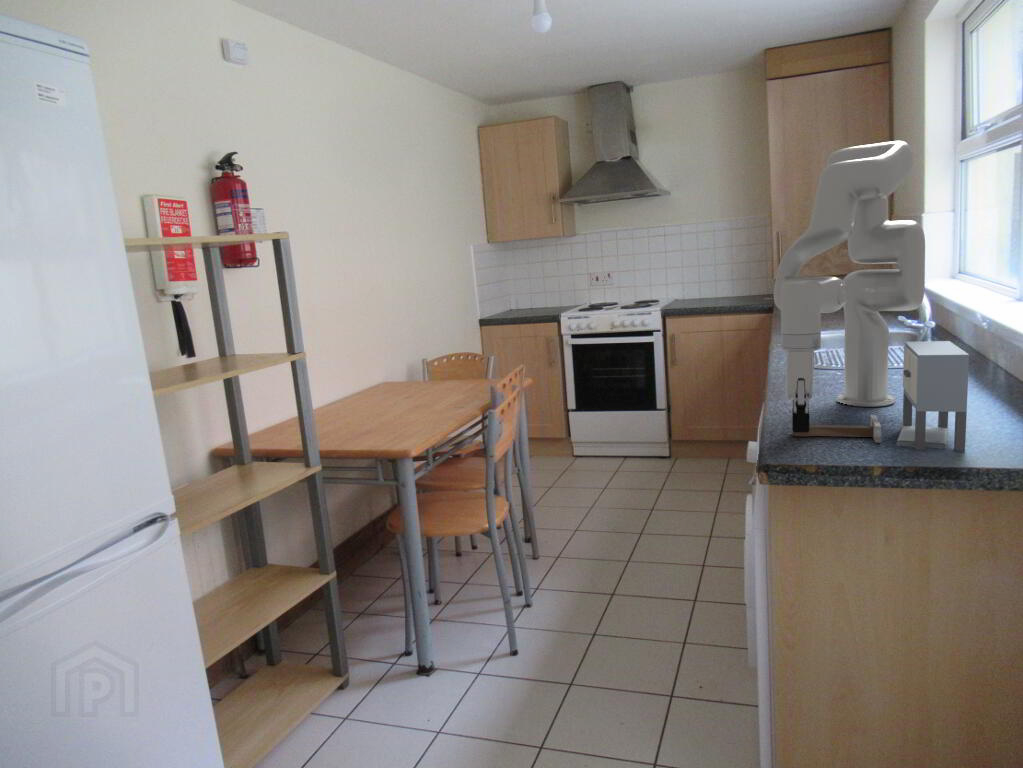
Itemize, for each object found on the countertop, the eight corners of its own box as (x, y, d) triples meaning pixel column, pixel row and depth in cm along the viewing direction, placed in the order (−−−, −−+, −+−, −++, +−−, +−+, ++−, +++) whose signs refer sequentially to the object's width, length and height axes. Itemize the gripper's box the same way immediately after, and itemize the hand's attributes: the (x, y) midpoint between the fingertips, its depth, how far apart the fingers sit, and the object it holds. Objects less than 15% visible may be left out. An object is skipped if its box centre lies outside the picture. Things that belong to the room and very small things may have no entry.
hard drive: (946, 443, 139) (948, 427, 150) (896, 440, 144) (901, 424, 154) (945, 452, 140) (947, 435, 150) (896, 448, 144) (901, 432, 154)
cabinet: (897, 427, 156) (899, 341, 153) (946, 428, 153) (949, 341, 150) (909, 450, 140) (912, 355, 137) (964, 451, 137) (969, 354, 134)
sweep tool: (792, 428, 160) (792, 396, 159) (875, 429, 154) (876, 396, 153) (792, 440, 151) (792, 406, 150) (880, 442, 145) (881, 407, 144)
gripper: (781, 336, 160) (781, 420, 164) (780, 347, 145) (780, 439, 149) (819, 335, 158) (819, 420, 161) (822, 347, 143) (821, 440, 146)
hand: (800, 428), depth 155 cm, fingers closed on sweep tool, 3 cm apart
